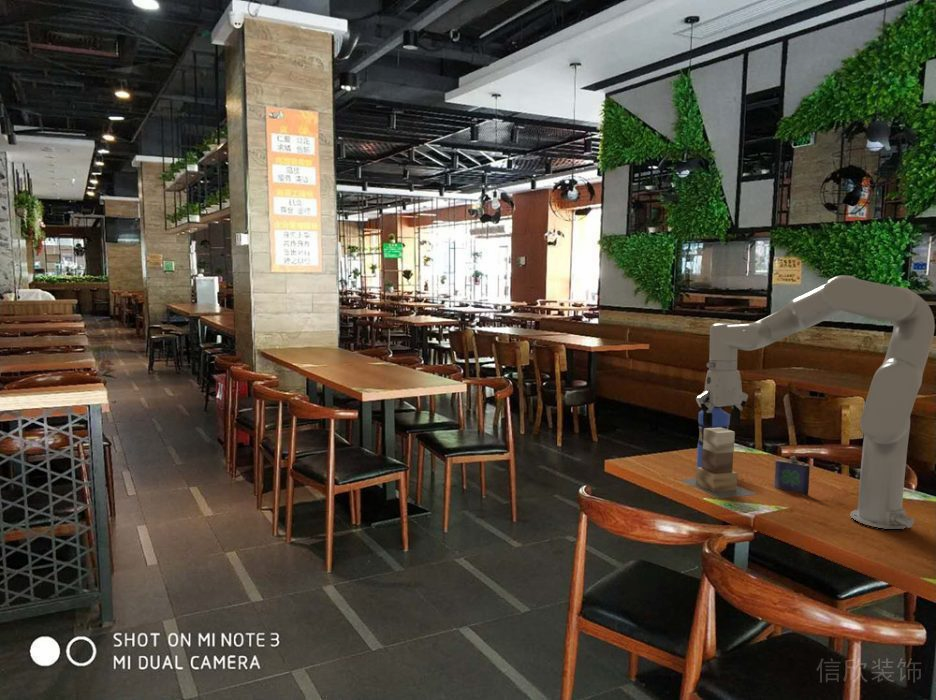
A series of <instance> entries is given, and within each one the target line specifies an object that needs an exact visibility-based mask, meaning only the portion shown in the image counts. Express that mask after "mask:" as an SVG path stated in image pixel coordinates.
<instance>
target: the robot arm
mask: <svg viewBox="0 0 936 700" xmlns="http://www.w3.org/2000/svg"><path fill="white" fill-rule="evenodd" d="M844 312H846V313H849V314H853V315H856V316H861V317H865V318H866V317H867V318H870V319H874V320H877V321H878V320H879V321H883V322H886V323H892V325H893V329H892V334H891V337H890V340H889V344H888V347H887V351H886V353H885V358H884V360H883V362H882V364H881V365H880V366H879V368H877V370H876V371H875V373H874V375H873V378H872V380H871V383H870V386H869V390H868V393H867V396H866V399H865V403H864V406H863V410H862V414H861V416H860V419H859V421H860V423H859V424H860V430H861V431H862V434H863V442H862V453H861V463H860V473H859V474H860V475H859V490H858V503H857V509H854V510H852V511H850V514H849V515H850V516H851V517H850V516H849V517H850V518H853V519H854V520H856V521H858V522H860V523H863V524H866V525H870V526H874V527H878V528H884V529H903V530H905V529H904V528H906V527H907V528H906V529H910V528H911V527H912V526H913V525H914V523H915V521H916V520H915V518H912V517H909V516H906V515H907V514H906V512H907V510H906V509H905V508H903V499H904V489H905V476H906V468H907V467H906V466H907V456H908V455H907V454H908V446H909V445H908V444H909V437H910V430H911V414H912V412H913V408H914V405H915V402H916V399H917V396H918V394H919V393H918V392H919V390H920V388H921V386H922V384H923V383H922V382H923V374H924V372H925V368H926V364H927V362H928V359H929V358H928V357H929V355H930V350H931V347H932V343H933V338H934V335H935V329H936V328H935V326H936V325H935V324H936V323H935V317H934V314H933V311H932V309H931V307H930V306H929V304H928V303H927V302H926V300H924V298H923V297H921V296H920V295H919V294H917V292H914V291H913V290H911V289H909V288H907V287H904V286H894V285H893V286H892V285H889V284H885V283H878V282H874V281H868V280H865V279H860V278H857V277H855V276H852V275H843V274H842V275H836V276H834V277H832V278H830V279H829V280H827V282H826V283H825V284H822V285H820V286H818V287H817V288H814V289H813V290H810V291H808V292H806V293H804V294H802V295H800V296H797V297H795V298H793V299H791V300H790V301H789V302H788V303H787V304H786V305H785V306H784V307H782V308H780V310H778V311H775V312H774V313H772V314H769V315H768V316H766V317H764V318H761V319H759V320H757V321H755V322H749V323H742V324H741V323H740V324H735V323H729V322H728V323H727V322H725V323H724V322H719V323H717V322H716V323H713V324H711V325H710V327H709V362H707V363H706V367H707V368H708V370H707V372H706V377H705V382H704V391H703V392H702V393H701V394H699V395H697V397H695V400H696V403H697V407H698V408H699V409H700V410H701V411H702V412H703V425H705V426H709V427H712V413H710V412H711V411H712V409H713V408H714V406H718V407H720V406H722V407H730V406H731V410H730V423H732V424H735V425H740V424H741V411H743V408H744V407H745V405H746V402H747V400H748V398H749V394H748V393H746V392H743V388H742V387H743V386H742V378H741V377H742V376H741V373H740V370H738V350H742V351H754V350H757V349H761V348H765V347H767V346H769V345H771V344H774V343H775V342H778V341H780V340H782V339H785V338H786V337H789V336H791V335H793V334H796V333H798V332H800V331H805V330H806V329H808V328H811V327H813V326H815V325H818V324H819V323H821V322H824V321H826V320H829V319H830V318H833V317H835V316H838V315H839V314H842V313H844ZM853 519H852V520H853ZM854 520H853V521H854ZM860 523H859V524H860ZM878 528H877V529H878ZM884 529H883V530H884Z"/></svg>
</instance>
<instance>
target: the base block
mask: <svg viewBox="0 0 936 700" xmlns="http://www.w3.org/2000/svg"><path fill="white" fill-rule="evenodd" d="M695 469H696V473H695V478H696V484H697V485H699V486H701V487H703V488H706V489H708V490H710V491H712V492H720V491H730V490H737V486H738V472H736V471H733V470H732V472H731V473H720V474H714V473H712V472H709V471H707V470H705V469H702V467H698V468H697V467H696V468H695Z"/></svg>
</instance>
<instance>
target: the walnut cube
mask: <svg viewBox="0 0 936 700" xmlns="http://www.w3.org/2000/svg"><path fill="white" fill-rule="evenodd" d="M733 463H734V452H729V453H717V454H716V453H714V452H711V451H708V450H706V449H703V451H702V469H705V470H707V471H709V472H712V473H714V474H720V473H731V472H732V471H733V466H734V465H733Z"/></svg>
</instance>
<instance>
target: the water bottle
mask: <svg viewBox="0 0 936 700" xmlns="http://www.w3.org/2000/svg"><path fill="white" fill-rule="evenodd" d="M722 407H723V406H720V407H718V406H714V408H713V409H712V411H711V412H710V413H712V427H709V426H705V425H703V412H702V411H699V412H698V420H697V421H698V429H699V431H698V432H699V435H698V436H699V437H698V441H697V451H696V469H697V468H698V467H702V451H703V437H704V428H718V427H721V428H724V429H728V430H729V427H730V423H731V413H729V412H727V411H724V410H723V409H722Z"/></svg>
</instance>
